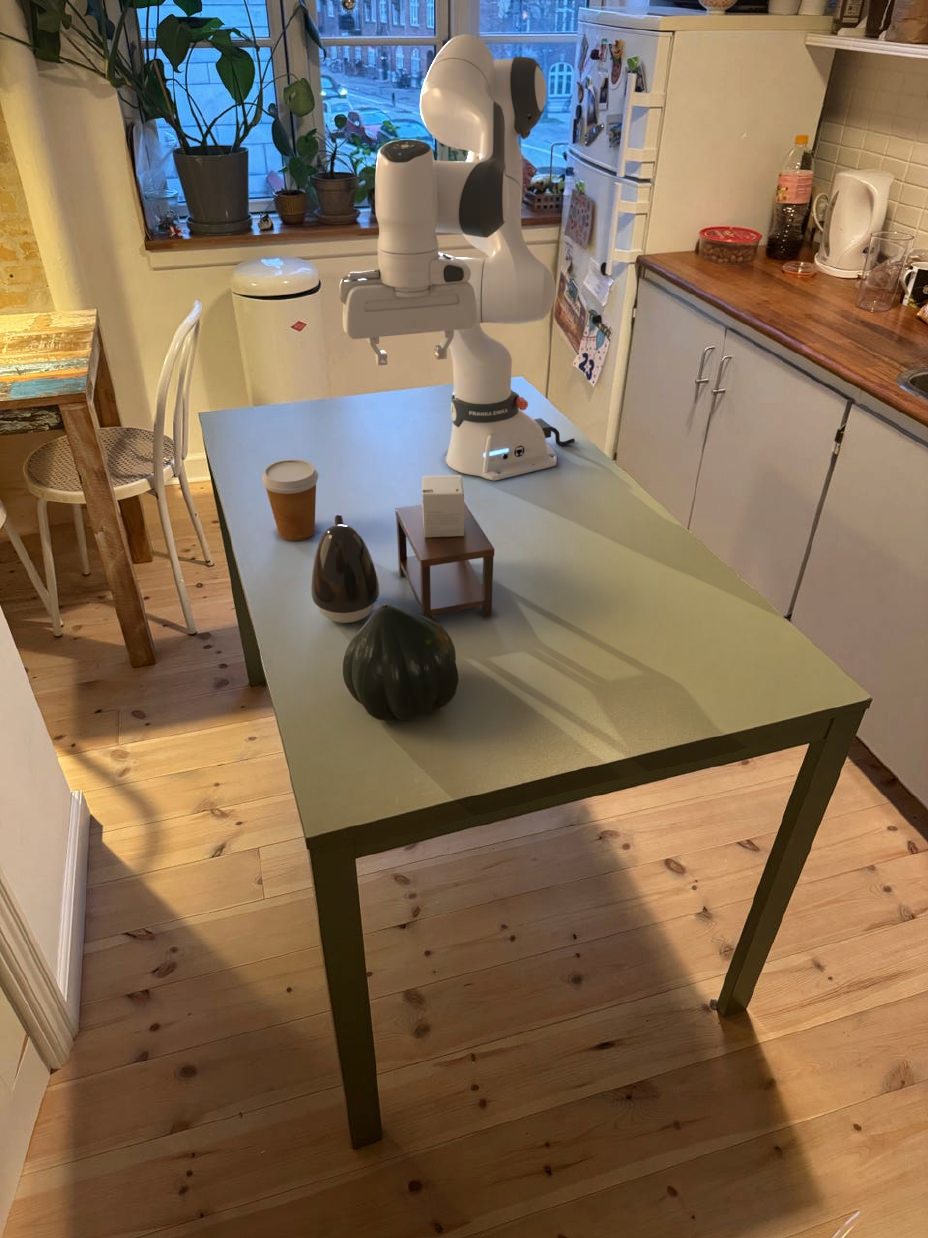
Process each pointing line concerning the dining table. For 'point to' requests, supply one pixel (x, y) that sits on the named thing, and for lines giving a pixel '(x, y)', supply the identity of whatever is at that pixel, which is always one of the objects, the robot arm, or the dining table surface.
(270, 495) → the disposable coffee cup
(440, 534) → the product carton
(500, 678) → the dining table surface
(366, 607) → the dark brown egg timer
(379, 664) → the squash
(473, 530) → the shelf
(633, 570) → the dining table surface
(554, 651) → the dining table surface
